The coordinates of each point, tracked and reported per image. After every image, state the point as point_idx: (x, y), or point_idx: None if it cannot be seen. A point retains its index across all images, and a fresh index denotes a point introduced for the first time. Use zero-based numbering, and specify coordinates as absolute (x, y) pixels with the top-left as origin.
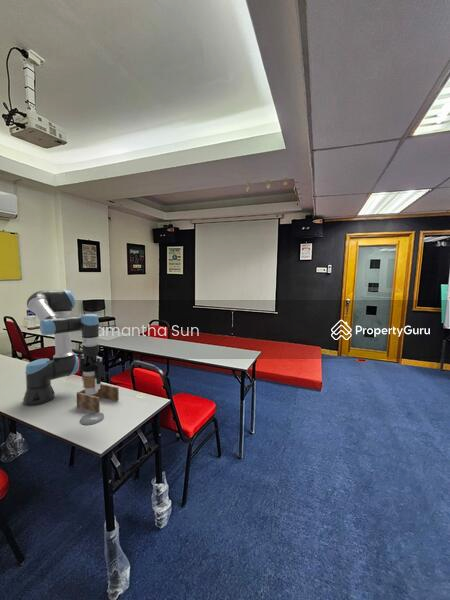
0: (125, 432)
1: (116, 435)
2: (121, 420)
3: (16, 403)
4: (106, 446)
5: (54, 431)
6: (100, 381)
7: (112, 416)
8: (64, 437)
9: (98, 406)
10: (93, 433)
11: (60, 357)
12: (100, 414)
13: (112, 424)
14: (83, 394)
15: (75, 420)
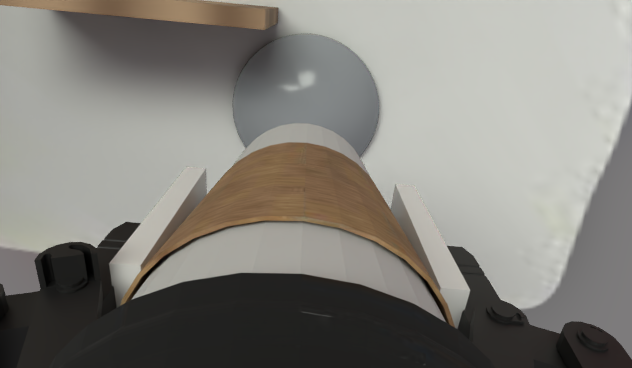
0: (597, 164)
1: (558, 200)
2: (511, 61)
3: None
4: (550, 277)
5: None
6: (476, 272)
7: (418, 37)
8: None
9: (273, 20)
10: None
11: None
12: (327, 57)
13: (476, 120)
14: (58, 8)
15: (219, 156)
